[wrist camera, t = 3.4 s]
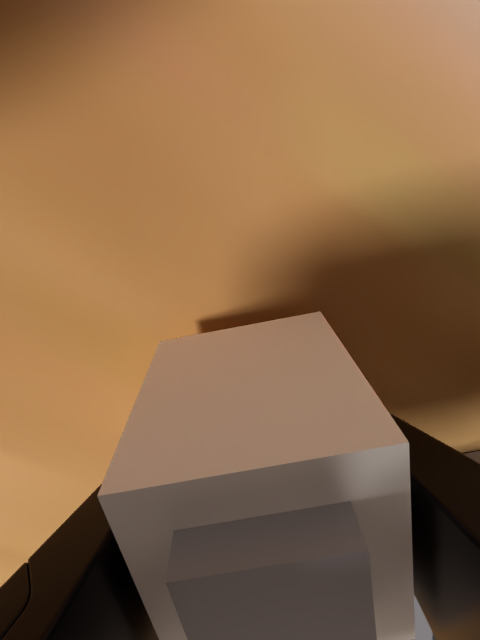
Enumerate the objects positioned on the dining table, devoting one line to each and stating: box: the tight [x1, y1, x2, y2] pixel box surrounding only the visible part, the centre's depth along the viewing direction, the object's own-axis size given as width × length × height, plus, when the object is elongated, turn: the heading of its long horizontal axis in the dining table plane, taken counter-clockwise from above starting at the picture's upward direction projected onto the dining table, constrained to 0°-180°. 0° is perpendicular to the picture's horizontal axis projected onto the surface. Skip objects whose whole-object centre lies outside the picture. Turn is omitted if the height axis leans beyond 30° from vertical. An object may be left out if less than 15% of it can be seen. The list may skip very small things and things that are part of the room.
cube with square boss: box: [97, 311, 415, 640], centre depth 7 cm, size 4×4×6 cm
